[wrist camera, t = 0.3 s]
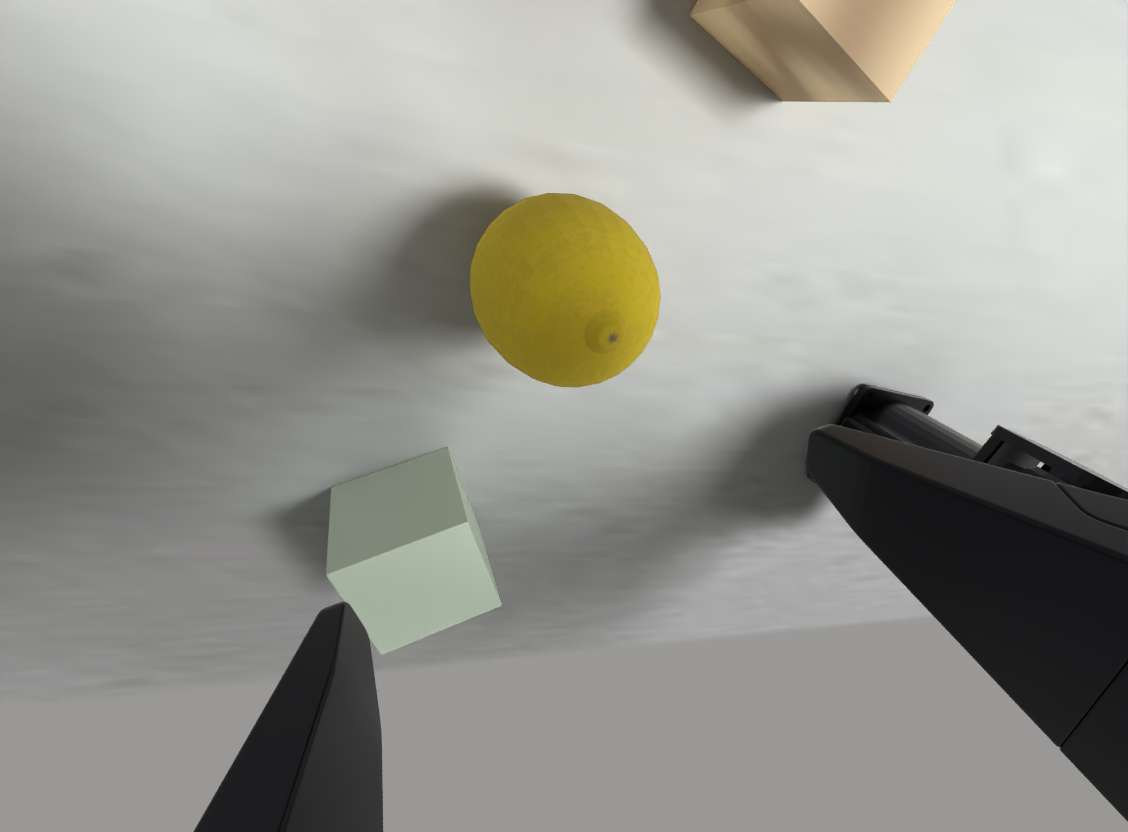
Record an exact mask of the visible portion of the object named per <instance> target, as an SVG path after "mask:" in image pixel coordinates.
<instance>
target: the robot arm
mask: <svg viewBox="0 0 1128 832" xmlns="http://www.w3.org/2000/svg"><path fill="white" fill-rule="evenodd" d="M933 405H934V404H933V402H932V401H930V400H928V399H926V398H923V397H919V396H914V395H910V394H906V393H901V392H897V391H892V390H888V389H884V388H879V387H875V386H871V385H864V386H862V387H861V388H860V389H859V390H858V392H857V393H856V395H855V396H854V398H853V400H852V401H851V403H850V405H849V406H848V408H847V410H846V411H845V413H844V414H843V416H842V418H841V419H840V421H839V423H838V424H837V425H834V424H827V425H824V426H821V427H818V428H816V429H813V430H812V431H811V432H810V433H809V435H808V442H807V451H806V459H805V464H806V468H807V470H808V474H807V477H808V478H809V479H810V480H811V481H812V482H814V483H817V484H818V486H819V487H820V488H821V490H822V491H823V492H824V494H825V495H826V496H827V497H828V499H829V500H830V501H831V503H832V504H833V505H834V506H835V508H836V509H837V510H838V512H839V513H840V514H841V515H842V517H843V518H844V519H845V521H846V522H847V523H848V524H849V526H850V527H851V528H852V529H853V531H854V532H855V533H856V534H857V535H858V536H859V537H860V539H861V540H862V541H863V542H864V543H865V544H866V545H867V546H868V547H869V548H870V549H871V550H872V552H873V553H874V554H875V555H876V556H877V557H878V558H879V559H880V560H881V561H882V562H883V563H884V564H885V565H886V566H887V567H888V568H889V569H890V571H891V572H892V573H893V574H894V575H895V576H896V577H897V578H898V579H899V580H900V581H901V582H902V583H903V584H904V585H905V586H906V587H907V588H908V590H909V591H910V592H911V593H912V594H913V595H914V596H915V597H916V598H917V599H918V600H919V601H920V602H921V603H922V604H923V605H924V606H925V607H926V609H927V610H928V611H929V612H930V613H931V614H932V615H933V616H934V617H935V618H936V619H937V620H938V621H939V622H940V623H941V624H942V625H943V627H945V629H946V630H947V631H948V632H949V633H950V634H951V635H952V636H953V637H954V638H955V639H956V640H957V641H958V642H959V643H960V644H961V646H962V647H963V648H964V649H965V650H966V651H967V652H968V653H969V654H970V655H971V656H972V657H973V658H974V659H975V660H976V661H977V662H978V663H979V664H980V666H981V667H982V668H983V669H984V670H985V671H986V672H987V673H988V674H989V675H990V676H991V677H992V678H993V679H994V680H995V681H996V682H997V684H998V685H999V686H1000V687H1001V688H1002V689H1003V690H1004V691H1005V692H1006V693H1007V694H1008V695H1009V696H1010V697H1011V698H1012V699H1013V700H1014V702H1015V703H1016V704H1018V706H1019V707H1020V708H1021V709H1022V710H1023V711H1024V712H1025V713H1026V714H1027V715H1028V716H1029V717H1030V718H1031V719H1032V720H1033V722H1034V723H1035V724H1036V725H1037V726H1038V727H1039V728H1040V729H1041V730H1042V731H1043V732H1044V733H1045V734H1046V735H1047V736H1048V737H1049V738H1050V739H1051V741H1052V742H1053V743H1054V744H1055V745H1056V746H1058V747H1060V750H1061V752H1062V753H1064V755H1065V756H1066V757H1067V758H1068V759H1069V760H1070V761H1071V762H1072V763H1073V764H1074V765H1075V766H1076V767H1077V768H1078V770H1079V771H1080V772H1081V773H1082V774H1083V775H1084V776H1085V777H1086V778H1087V779H1088V780H1089V781H1090V782H1091V783H1092V784H1093V785H1094V786H1095V787H1096V789H1097V790H1098V791H1099V792H1100V793H1101V794H1102V795H1103V796H1104V797H1105V798H1106V799H1107V800H1108V801H1109V802H1110V803H1111V804H1112V805H1113V806H1114V807H1115V809H1116V810H1117V811H1118V812H1119V813H1120V814H1121V815H1122V816H1123V817H1124V818H1125V819H1126V820H1127V821H1128V489H1126V488H1125V487H1123V486H1121V485H1119V484H1117V483H1115V482H1113V481H1111V480H1110V479H1108V478H1106V477H1104V476H1102V475H1100V474H1098V473H1096V472H1095V471H1093V470H1091V469H1089V468H1087V467H1085V466H1083V465H1081V464H1079V463H1077V462H1075V461H1073V460H1071V459H1069V458H1067V457H1065V456H1063V455H1061V454H1059V453H1057V452H1055V451H1053V450H1051V449H1049V448H1047V447H1045V446H1043V445H1041V444H1039V443H1037V442H1035V441H1033V440H1030V439H1028V438H1026V437H1024V436H1021V435H1019V434H1017V433H1015V432H1013V431H1010V430H1008V429H1006V428H1004V427H1002V426H999V425H997V427H996V428H995V429H994V430H993V431H992V433H991V434H992V436H991V437H990V438H989V439H988V441H987V442H986V443H985V444H984V445H983V446H982V445H980V444H978V443H977V442H975V441H973V440H971V439H969V438H968V437H966V436H964V435H962V434H960V433H958V432H957V431H955V430H953V429H951V428H949V427H948V426H946V425H944V424H942V423H940V422H939V421H937V420H935V419H933V418H931V417H930V416H928V414H929V412H930V411H931V410H932V408H933ZM1040 462H1043V463H1044V465H1043V466H1042V467H1041V468H1039V467H1037V465H1038V464H1039V463H1040ZM194 832H383V790H382V738H381V724H380V715H379V707H378V700H377V692H376V685H375V677H374V669H373V662H372V654H371V646H370V640H369V636H368V633H367V631H366V629H365V627H364V625H363V624H362V622H361V621H360V619H359V618H358V616H357V614H356V613H355V611H354V610H353V608H352V607H351V605H350V604H349V603H347V602H340V603H337V604H335V605H332V606H329V607H327V608H324V609H322V610H321V611H320V612H319V614H318V615H317V617H316V619H315V620H314V622H313V624H312V626H311V627H310V629H309V631H308V633H307V634H306V636H305V638H304V640H303V641H302V643H301V645H300V647H299V648H298V650H297V652H296V654H295V655H294V657H293V659H292V661H291V662H290V664H289V666H288V668H287V669H286V671H285V673H284V675H283V676H282V678H281V680H280V682H279V683H278V685H277V687H276V689H275V690H274V692H273V694H272V696H271V697H270V699H269V701H268V703H267V704H266V706H265V708H264V710H263V711H262V713H261V715H260V717H259V718H258V720H257V722H256V724H255V725H254V727H253V729H252V731H251V732H250V734H249V736H248V738H247V739H246V741H245V743H244V744H243V746H242V748H241V750H240V751H239V753H238V755H237V757H236V758H235V760H234V762H233V764H232V766H231V767H230V769H229V771H228V773H227V774H226V776H225V778H224V780H223V781H222V783H221V785H220V786H219V788H218V790H217V792H216V793H215V795H214V797H213V799H212V801H211V802H210V804H209V806H208V807H207V809H206V811H205V813H204V814H203V816H202V818H201V820H200V821H199V823H198V825H197V827H196V828H195V830H194Z"/></svg>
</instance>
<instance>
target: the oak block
mask: <svg viewBox="0 0 1128 832" xmlns="http://www.w3.org/2000/svg"><path fill="white" fill-rule="evenodd" d="M956 1H957V0H697V2H696V4H695V6H694V8H693V10H692V12H691V14H690V16H691V17H692V18H693V19H694V20H695V21H696V22H697V23H698V24H699V25H700V26H702V27H703V28H704V29H705V30H706V31H707V32H708V33H709V34H710V35H711V36H712V37H713V38H715V39H716V40H717V41H718V42H719V43H720V44H721V45H722V46H723V47H724V48H725V49H726V50H727V51H729V52H730V53H731V54H732V55H733V56H734V57H735V58H736V59H737V60H738V61H739V62H740V63H742V64H743V65H744V66H745V67H746V68H747V69H748V70H749V71H750V72H751V73H752V74H753V75H755V76H756V77H757V78H758V79H759V80H760V81H761V82H762V83H763V84H764V85H765V86H766V87H768V88H769V89H770V90H771V91H772V92H773V93H774V94H775V95H776V96H777V97H778V98H779V99H781V100H782V101H808V102H891V101H892V99H893V98H894V96H895V95H896V93H897V92H898V90H899V89H900V87H901V85H902V84H903V82H904V81H905V79H906V78H907V76H908V75H909V73H910V72H911V70H912V69H913V67H914V65H915V64H916V62H917V61H918V59H919V58H920V56H921V55H922V53H923V52H924V50H925V48H926V47H927V45H928V44H929V42H930V41H931V39H932V38H933V36H934V35H935V33H936V32H937V30H938V28H939V27H940V25H941V24H942V22H943V21H944V19H945V18H946V16H947V15H948V13H949V11H950V10H951V8H952V7H953V5H954V4H955V2H956Z"/></svg>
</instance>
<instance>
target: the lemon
mask: <svg viewBox="0 0 1128 832" xmlns="http://www.w3.org/2000/svg"><path fill="white" fill-rule="evenodd" d="M470 294H471V299H472V304H473V309H474V313H475V316H476V319H477V321H478V323H479V325H480V327H481V329H482V331H483V333H484V334H485V336H486V338H487V340H488V341H489V343H490V344H491V345H492V346H493V347H494V348H495V349H496V350H497V352H498V353H499V354H500V355H501V356H502V357H503V358H504V359H505V360H506V361H507V362H508V363H509V364H511V365H512V366H514V367H515V368H517V369H518V370H520V371H522V372H523V373H525V374H526V375H528V376H530V377H531V378H533V379H535V380H538V381H541V382H544V383H548V384H551V385H554V386H559V387H583V386H588V385H592V384H597V383H601V382H603V381H605V380H608V379H610V378H612V377H614V376H616V375H618V374H619V373H620V372H622V371H623V370H624V369H626V368H627V367H629V366H630V365H631V364H632V363H633V362H634V361H635V359H636V358H637V357H638V356H639V355H640V354H641V353H642V352H643V350H644V348H645V347H646V345H647V343H648V342H649V340H650V339H651V337H652V334H653V331H654V328H655V326H656V323H657V320H658V314H659V305H660V288H659V280H658V274H657V271H656V268H655V266H654V263H653V261H652V258H651V256H650V253H649V251H648V249H647V248H646V246H645V245H644V243H643V242H642V241H641V239H640V238H639V237H638V235H637V234H636V233H635V231H634V230H633V229H632V228H631V226H630V225H629V224H628V223H627V222H626V221H625V220H624V219H622V218H621V217H620V216H618V215H617V214H616V213H614V212H613V211H611V210H610V209H609V208H607V207H606V206H604V205H603V204H601V203H599V202H596V201H593V200H590V199H587V198H584V197H581V196H578V195H575V194H559V193H546V194H542V195H538V196H534V197H530V198H525V199H523V200H521V201H520V202H518V203H516V204H514V205H512V206H511V207H509V208H507V209H505V210H504V211H503V212H502V213H501V214H500V215H499V216H498V217H497V218H496V219H495V220H494V221H493V222H492V223H491V224H490V225H489V226H488V228H487V229H486V231H485V233H484V234H483V236H482V237H481V239H480V241H479V242H478V244H477V247H476V250H475V254H474V257H473V260H472V263H471V272H470Z"/></svg>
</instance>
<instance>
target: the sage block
mask: <svg viewBox="0 0 1128 832" xmlns="http://www.w3.org/2000/svg"><path fill="white" fill-rule="evenodd" d="M326 576H327V577H328V579H329V580H330V582H331V583H332V584H333V586H334V587H335V589H336V590H337V592H338V593H339V595H340V596H341V597H342V599H343V600H344V602H347V603H349V604H350V605H351V607H352V608H353V610H354V611H355V613H356V614H357V616H358V618H359V619H360V621H361V622H362V624H363V625H364V627H365V629H366V631H367V633H368V636H369V638H370V639H371V641H372V642H373V644H374V645H375V647H376V648H377V650H378V651H379V653H380V654H381V655H383V654H386V653H388V652H391V651H393V650H395V649H398V648H400V647H403V646H405V645H408V644H410V643H412V642H415V641H417V640H420V639H422V638H425V637H427V636H429V635H432V634H434V633H437V632H439V631H442V630H444V629H446V628H449V627H451V626H454V625H456V624H459V623H461V622H463V621H466V620H468V619H471V618H473V617H476V616H478V615H480V614H483V613H485V612H488V611H490V610H493V609H495V608H497V607H500V606H502V604H501V601H500V597H499V594H498V590H497V587H496V583H495V580H494V577H493V573H492V570H491V566H490V563H489V559H488V556H487V552H486V549H485V546H484V542H483V539H482V535H481V532H480V528H479V525H478V523H477V520H476V518H475V515H474V513H473V510H472V507H471V505H470V502H469V500H468V497H467V495H466V492H465V490H464V487H463V485H462V482H461V479H460V477H459V474H458V472H457V469H456V467H455V464H454V462H453V459H452V457H451V454H450V452H449V449H448V447H446V448H443V449H440V450H437V451H434V452H431V453H428V454H425V455H423V456H420V457H417V458H414V459H411V460H408V461H405V462H402V463H400V464H397V465H394V466H391V467H388V468H385V469H382V470H380V471H377V472H374V473H371V474H368V475H365V476H362V477H359V478H357V479H354V480H351V481H348V482H345V483H342V484H339V485H336V486H334V487H331V500H330V516H329V533H328V549H327V566H326Z"/></svg>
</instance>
